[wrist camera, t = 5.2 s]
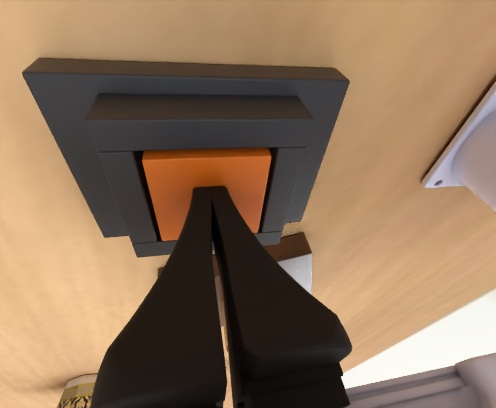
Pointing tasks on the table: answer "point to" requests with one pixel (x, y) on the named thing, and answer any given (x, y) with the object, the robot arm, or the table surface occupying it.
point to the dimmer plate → (280, 263)
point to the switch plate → (184, 131)
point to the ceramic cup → (78, 392)
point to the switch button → (205, 182)
